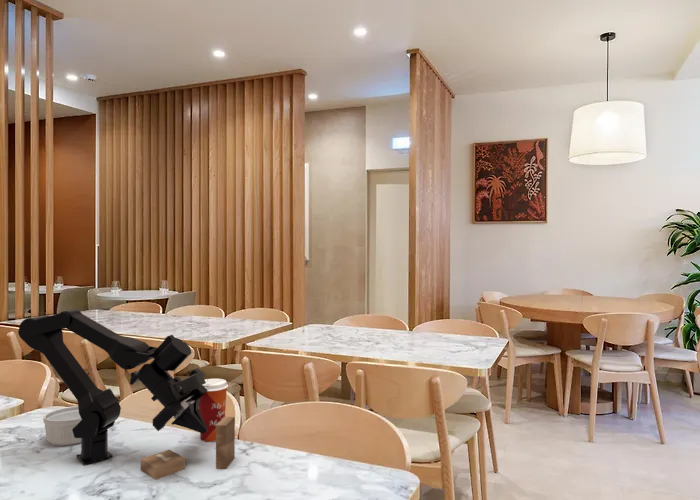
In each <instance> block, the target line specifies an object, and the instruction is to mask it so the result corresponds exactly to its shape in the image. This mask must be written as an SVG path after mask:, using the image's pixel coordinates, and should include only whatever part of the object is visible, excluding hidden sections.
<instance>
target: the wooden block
mask: <svg viewBox="0 0 700 500" xmlns="http://www.w3.org/2000/svg"><path fill="white" fill-rule="evenodd" d="M235 424H236V417H235V416H225V417H224V418H223V419H222V420H221V421H220V422H219V423H218V424H217V425H216V441H215V469H217V470H227V469H228V468H229V466H231V464H232V463H233V462H234V460H235V458H236V457H235V455H236V452H235V448H236V444H235V440H236V434H235V433H236V432H235V431H236V429H235V427H236V425H235Z"/></svg>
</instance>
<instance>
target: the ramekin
mask: <svg viewBox="0 0 700 500" xmlns="http://www.w3.org/2000/svg"><path fill="white" fill-rule="evenodd" d="M81 420H82V419H81V417H80V415H79V409H78V405H73V406H67V407H62V408H59V409H55V410H51V411H49V412H47V413H46V414H44V416H43V422H42V423H44V430H45V436H46V437H45V438H46V440H47V442H48V443H49V444H50V445H53V446H71V445H77V444H81V438H75V437H74V434H73V431H72V429H73V428H74V427H75V426H76V425H77V424H78V423H79V422H80V421H81Z"/></svg>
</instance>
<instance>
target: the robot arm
mask: <svg viewBox="0 0 700 500" xmlns="http://www.w3.org/2000/svg"><path fill="white" fill-rule="evenodd" d="M64 329H67V330H69V331H70V332H72V333H73V334H75V335H77V336H79V337H81V338H83V339H84V340H86V341H88V342H89V343H91V344H93V345H94V346H95V347H97V348H100V349H101V350H103V351H104V352H105V353H107V354H108V357H109V358H110V359H111V361H113V362H114V363H115V364H116V365H117V366H118V367H120V368H121V369H122V370H125V371H128V370H133V369H135V368H137V367H139V366H141V367H140V369H138V370H134V371H132V372H130V380H129V384H130V385H132V386H133V385H135V384H137V383H139V382H140V383H141V384H142V385H143V386H144V387H145V388H146V389H147V390H148V392H150V394H152V395H153V396H152V397H151V400H152V401H153V402H156V401H158V402H159V403H160V404H161V405H162V406H163V409H161V410H160V411H159V413H157V414H156V415H155V416H154V417H153V418H152V427H153V428H154V429H156V431H157V432H159V431H161V430H162V429H164V428H165V427H166V424H168V422H169V421H170V420H171V419H172V418H173V419H174V420H173V421H172V422H171V425H176V426H179V427H183V428H185V429H189V430H192V431H195V432H197V433H199V434H200V433H203V434H204V433H205V432H206V431H207V430H208V429H207V427H206V425H205V423H204V420H203V418H202V416H201V414H200V411H199V401H200V398H201V397H202V396H203V395H204V394H205V393H206V392H207V389H206V388H205V387H204V386H203V385H202V384H205V383H206V382H205V380H206V379H205V377H206V373H205V372H203V370H200V369H199V368H198V367H197V368H195V369H192V370H190V371H189V375H188V376H187V377H185V378H182V379H181V378H180V377H179V376H175V377H173V376H172V375H171V374H170V373H169V372H170V371H171V372H175V371H176V370H177V368H179V367H180V366H181V364H183V363H184V361H186V359H188V357H189V356H190V355H191V354H192V349H191V346H189V344H188V343H187V342H186V341H184V340H182V339H180V338H178V337H175V336H174V335H173V334H170V335H167V336H166V337H165V339H164V340H163V341H162V343H161V344H159V346H158V347H157V346H153V345H149V344H148V343H147V342H145V341H142V340H139V339H136V338H134V337H131V336H130V337H129V336H123V335H121V334H118V333H116V332H114V331H113V330H111V329H110V328H108V327H106V326H104V325H103V324H100V323H99V322H97V321H95V320H94V319H92V318H90V317H89V316H87V315H85V314H83V313H82V312H81V311H80V310H79V309H69V310H63V311H61V312H59V313H56V314H53V315H48V314H47V315H46V314H45V315H40V316H35V317H28V318H26V319H24V320H22V321H21V323H20V324H19V326H18V331H17V333H18V334H17V335H18V337H19V338H20V339H21V340H22V341H23V342H24V343H25V344H26V345H27V346H28V347H29V348H30V349H32V350H35V351H37V352H39V353H41V354H42V355H43V356H44V357H45V359H46V360H47V361H48V363H50V365H51V367H52V368H53V369H54V371H55V372H56V374H57V375H58V376H59V378H61V381H62V382H63V383H64V384H65V386H66V387H67V388H68V389H69V392H70V393H71V394H72V395H73V396H74V397H75V399H76V401H77V406H78V409H79V415H80V417H81V419H82V420H81V421H80V422H79V423H78V424H77V425H76V426H75V427H74V428H73V429H72V431H73V434H74V437H75V438H81V443H80V448H81V449H80V451H81V452H80V453H79V454H76V455H75V456H76V457H75V458H76V459H77V460H78V461H79V462H80V463H81V464H82V465H84V466H85V465H90V464H94V463H96V462H97V463H98V462H101V461H104V460H107V459H111V458H113V457H114V456H113V454H112V453H111V452H110V451H109V450H108V449H109V448H108V447H109V446H108V441H109V439H108V438H109V437H108V436H109V435H108V434H109V432H108V431H109V429H110V428H113V427H114V424H115V423H116V421H117V420H118V419H119V417H120V415H121V410H122V407H121V405H120V403H119V402H121V401H120V399H119V398H117V397H116V396H115V394H114V393H113V390H112V389H110V388H107V389H105V390H103V389H100V388H98V387H97V386H96V383H94V381H93V380H92V379H91V377H90V376H89V375H88V374H87V372H86V371H85V370H84V368H83V367H82V366H81V364H80V363H79V361H78V360H77V359H76V357H75V356H74V355H73V354H72V352H71V350H70V349H69V348H68V347H67V345H66V344H65V342H64V334H63V333H64V332H63V330H64ZM151 360H152V361H151ZM149 361H151V362H150V363H147V362H149ZM168 371H169V372H168Z"/></svg>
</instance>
